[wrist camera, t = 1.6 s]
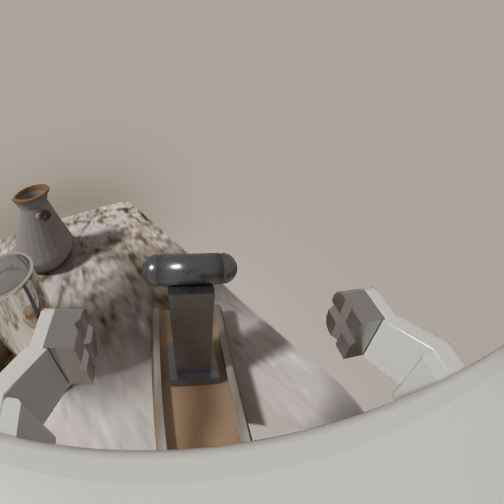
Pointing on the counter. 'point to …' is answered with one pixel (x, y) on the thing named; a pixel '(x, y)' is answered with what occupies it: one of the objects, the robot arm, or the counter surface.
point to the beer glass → (19, 300)
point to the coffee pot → (41, 229)
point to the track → (195, 395)
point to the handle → (191, 310)
